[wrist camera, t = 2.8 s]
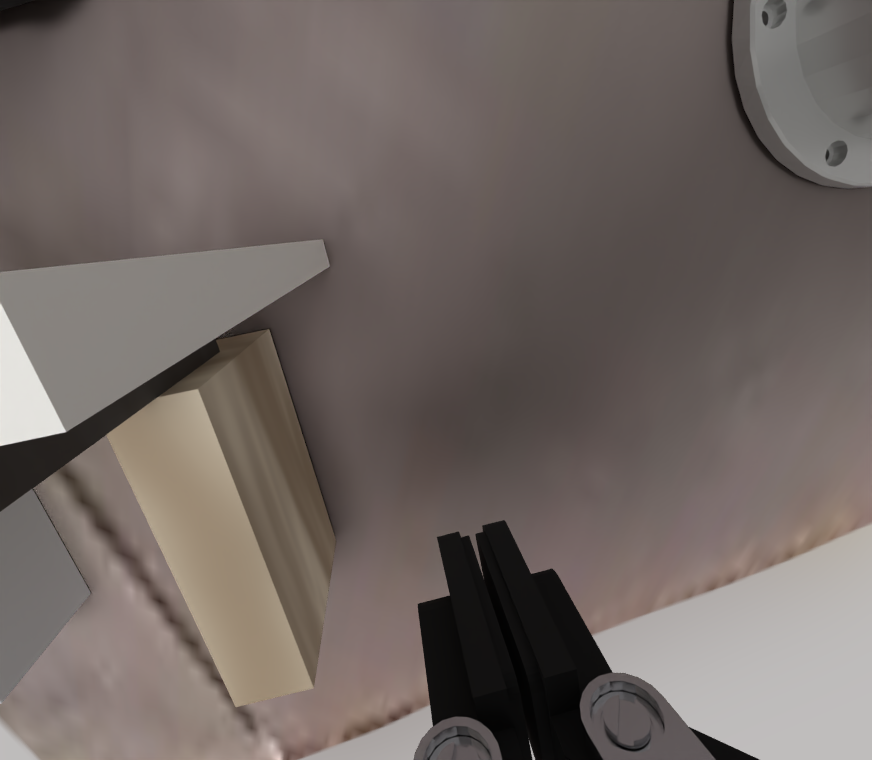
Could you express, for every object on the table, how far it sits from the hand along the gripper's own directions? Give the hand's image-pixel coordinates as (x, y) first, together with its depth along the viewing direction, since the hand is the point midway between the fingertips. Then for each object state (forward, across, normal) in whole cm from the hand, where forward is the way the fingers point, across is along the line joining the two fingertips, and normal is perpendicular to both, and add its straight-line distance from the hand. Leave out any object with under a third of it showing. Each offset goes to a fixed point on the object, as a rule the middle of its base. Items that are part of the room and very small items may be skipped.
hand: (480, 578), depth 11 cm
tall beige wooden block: (+10, +6, -1) cm, 12 cm away
